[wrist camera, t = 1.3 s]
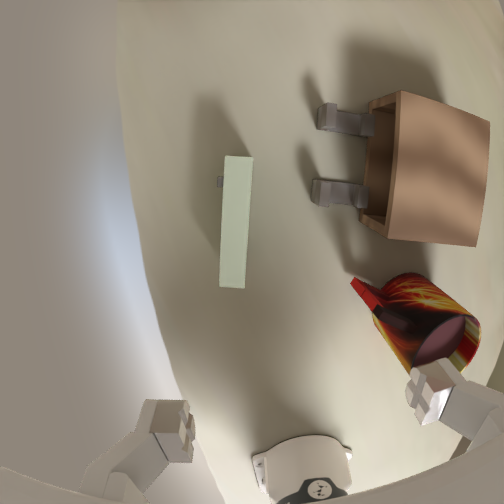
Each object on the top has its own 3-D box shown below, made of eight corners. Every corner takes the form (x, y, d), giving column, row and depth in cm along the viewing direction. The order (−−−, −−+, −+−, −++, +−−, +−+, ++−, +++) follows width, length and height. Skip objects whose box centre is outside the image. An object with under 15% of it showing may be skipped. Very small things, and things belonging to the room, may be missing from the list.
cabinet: (439, 229, 35) (475, 247, 27) (309, 216, 34) (326, 233, 27) (450, 124, 31) (489, 121, 23) (318, 93, 30) (339, 75, 22)
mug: (347, 273, 36) (386, 321, 25) (438, 271, 37) (491, 309, 25) (338, 340, 39) (365, 400, 28) (423, 332, 39) (464, 380, 28)
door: (244, 263, 36) (244, 288, 29) (217, 262, 36) (211, 286, 29) (251, 157, 32) (253, 157, 26) (222, 155, 32) (216, 155, 25)
